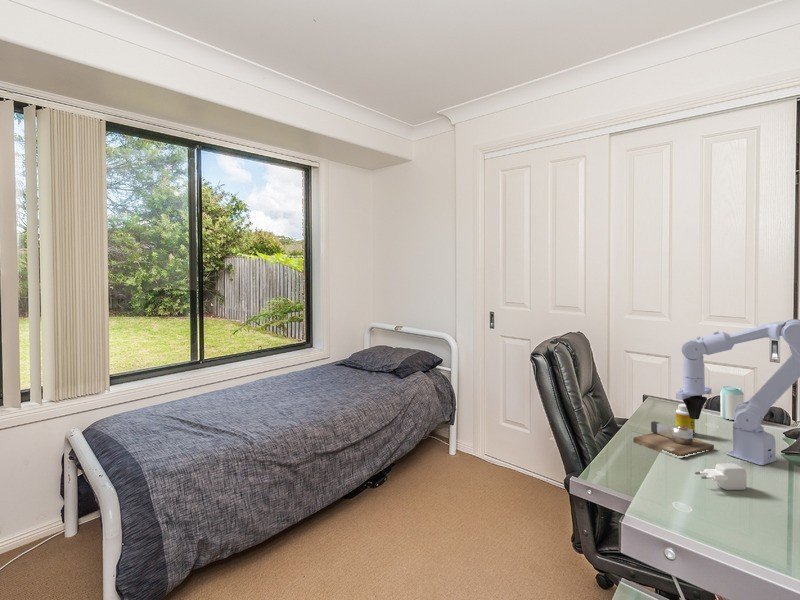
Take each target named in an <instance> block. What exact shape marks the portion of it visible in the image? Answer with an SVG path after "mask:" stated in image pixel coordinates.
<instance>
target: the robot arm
mask: <svg viewBox="0 0 800 600" xmlns="http://www.w3.org/2000/svg"><path fill="white" fill-rule="evenodd" d="M781 337H782V339H784V341H785V342H786V343H787V344H788V346H789V347H788V348H789V350H790V352H791V355H790V356H789V357H788V358H787V359H786V361H784V362H783V364H782V365H781V366H779V368H778V369H777V370H776V371H775V372H774V373H773V374H772V375H771V376H770V377H769V379H768V380H767V381H765V383H764V384H763V385H762V386H761V387H760V388H759V389H758V390H757V391H756V393H755V394H754V395H751V397H749V398H748V399H747V400H746V401H744V403H741V404H739V405H738V406H737V407H736V409H735V415H734V421H733V423H732V448H733V449H732V450H731V451H728V452H727V451H726V453H725V454H726V455H727V456H731V457H734V458H737V459H740V460H744V461H746V462H750V463H752V464H755V465H759V466H764V465H767V464H771V463H774V462H776V461H778V458H777V457H776V456H777V455H776V439H775V436H774V435H773V434H772V433H769V432H767V431H765V430H764V428H765V427H764V426H762V420H763V418H764V417H765V416H766V415H767V413H768V412H769V410H770V409H771V407H772V406H773V405H774V404H775V403H776V402H777V401H778V400H779V399H780V398H781V397H782V396H783V395H784V394H785V393H786V392H787V391H788V389H790V388H791V387H792V386H793V384H795V382H797V381H798V380H799V379H800V319H798V318H797V319H796V318H793V319H792V318H791V319H788V320H785V321H784V320H781V321H774V322H769V323H765V324H761V325H758V326H754V327H751V328H748V329H744V330H741V331H737V332H734V333H728V332H724V331H721V332H719V331H718V330H717V331H714V332H712V334H710V335H706V336H702V337H701V336H697V337H696V338H695V339H689V340H687V341H686V342H685V343H684V344H682V346H681V353H682V355H683V357H682V360H683V361H682V381H683V383H682V386H683V387H681V388H679V390H680V391H678V392H676V393H675V399H677V400H680V401H683V404H685V405H686V407H687V410H688V413H689V416H690V418H692V419H695V421H697V420H699V419H700V417H701V414H702V409H703V407H704V405H705V404H706V402H707V401H708V397H706V396H705V395H712V388H711V387H708V386H707V387H706V386H705V385H706V384H705V363H704V355H705V356H706V355H707V356H710V355H715V354H717V353H722V352H726V351H730V350H732V349H733V347H734V346H735V345H737V344H742V343H746V342H750V341H755V340H760V339H765V338H768V339H773V340H777V341H778V340H779V341H780V340H781Z"/></svg>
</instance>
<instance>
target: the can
mask: <svg viewBox="0 0 800 600" xmlns="http://www.w3.org/2000/svg"><path fill="white" fill-rule="evenodd" d="M719 394H720V396H719V397H720V398H719V399H720V402H719V403H720V404H719V407H720V417H721V418H723V419H724V418H725V419H724V420H726V419H729V420H728V421H730V420H734V415H735V409H736V407H737V406H738V405H739V404H741V403H744V402H745V399H744V398H745V396H744V392H743V391H742V388H740V387H737V386H722V387H721V390H720V392H719Z"/></svg>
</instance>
